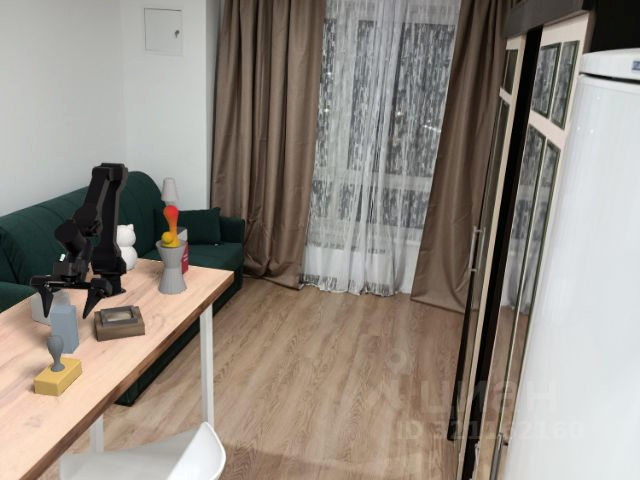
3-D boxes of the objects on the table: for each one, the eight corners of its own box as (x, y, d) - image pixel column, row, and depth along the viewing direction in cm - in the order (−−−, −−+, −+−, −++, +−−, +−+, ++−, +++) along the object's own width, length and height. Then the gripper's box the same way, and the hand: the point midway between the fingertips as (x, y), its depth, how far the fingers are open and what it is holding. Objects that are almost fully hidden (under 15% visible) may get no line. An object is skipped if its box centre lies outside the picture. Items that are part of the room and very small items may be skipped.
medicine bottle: (72, 316, 164) (68, 276, 160) (51, 326, 158) (46, 285, 154) (53, 310, 167) (49, 270, 163) (32, 320, 161) (27, 279, 157)
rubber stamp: (60, 369, 139) (55, 323, 135) (83, 373, 139) (78, 327, 135) (34, 393, 130) (28, 345, 126) (59, 397, 129) (53, 348, 125)
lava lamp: (170, 280, 190) (166, 173, 178) (193, 286, 187) (191, 177, 175) (151, 290, 182) (146, 179, 171) (175, 297, 179) (171, 183, 167)
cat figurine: (142, 262, 203) (139, 220, 198) (130, 276, 192) (127, 232, 186) (115, 260, 203) (112, 219, 198) (102, 275, 191) (99, 231, 186)
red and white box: (175, 282, 189) (174, 238, 184) (163, 280, 190) (161, 236, 185) (189, 269, 199) (188, 227, 194) (177, 268, 200) (176, 225, 195)
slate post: (61, 343, 150) (57, 304, 147) (79, 344, 150) (75, 305, 147) (54, 353, 146) (49, 312, 142) (72, 353, 146) (68, 313, 142)
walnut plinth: (95, 321, 162) (93, 307, 161) (139, 315, 167) (138, 302, 165) (98, 341, 152) (97, 327, 151) (145, 334, 157) (144, 320, 155)
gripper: (28, 245, 145) (12, 305, 138) (105, 248, 146) (93, 309, 139) (45, 263, 155) (30, 320, 148) (117, 266, 156) (106, 323, 149)
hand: (64, 318), depth 146 cm, fingers open, 9 cm apart
